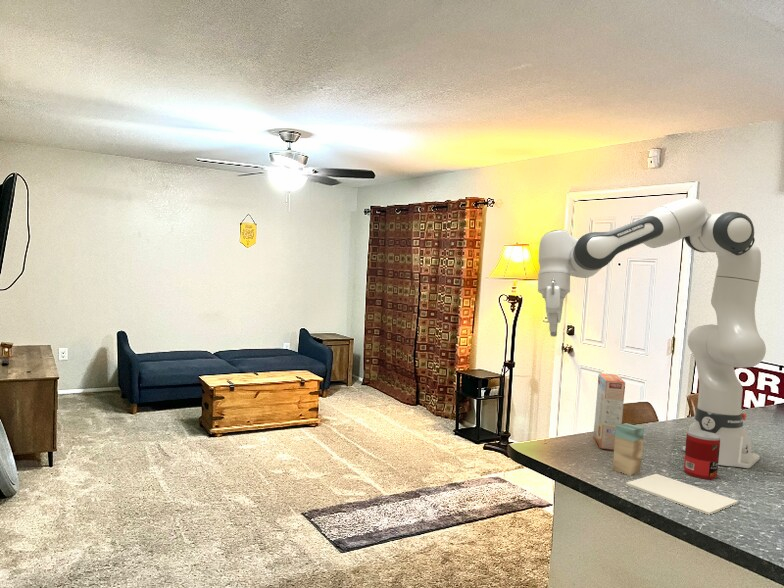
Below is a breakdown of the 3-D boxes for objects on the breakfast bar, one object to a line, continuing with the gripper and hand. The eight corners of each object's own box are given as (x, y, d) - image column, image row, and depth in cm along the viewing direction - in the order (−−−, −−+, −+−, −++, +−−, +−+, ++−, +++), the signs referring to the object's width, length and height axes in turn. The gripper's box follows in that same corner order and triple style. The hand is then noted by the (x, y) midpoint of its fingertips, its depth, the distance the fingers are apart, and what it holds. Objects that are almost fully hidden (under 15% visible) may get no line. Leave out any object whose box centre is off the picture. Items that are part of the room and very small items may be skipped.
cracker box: (620, 451, 172) (626, 381, 171) (599, 449, 173) (604, 379, 172) (612, 439, 185) (617, 374, 185) (592, 436, 187) (597, 372, 186)
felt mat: (656, 476, 152) (656, 473, 152) (737, 503, 135) (738, 500, 135) (625, 484, 143) (625, 482, 143) (709, 515, 127) (709, 512, 127)
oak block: (623, 466, 158) (626, 423, 157) (640, 472, 154) (644, 427, 153) (612, 469, 155) (615, 425, 154) (629, 475, 151) (633, 430, 150)
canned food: (716, 482, 150) (719, 439, 149) (682, 474, 154) (685, 433, 154) (717, 474, 156) (721, 433, 156) (684, 467, 161) (688, 428, 160)
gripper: (565, 277, 155) (564, 328, 153) (565, 293, 174) (564, 339, 172) (541, 277, 157) (540, 327, 154) (543, 293, 176) (542, 338, 174)
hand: (553, 333), depth 163 cm, fingers open, 8 cm apart
